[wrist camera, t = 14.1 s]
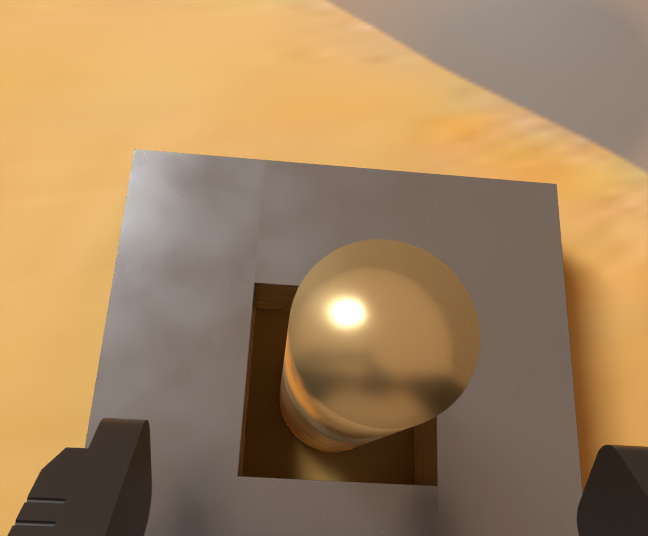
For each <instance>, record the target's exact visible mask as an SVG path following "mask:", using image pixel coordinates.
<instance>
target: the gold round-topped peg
mask: <svg viewBox="0 0 648 536" xmlns="http://www.w3.org/2000/svg"><path fill="white" fill-rule="evenodd" d="M479 350H480V328H479V321H478V317H477V312H476V309H475V307H474V304H473V301H472V299H471V297H470V295H469V293H468V291H467V289H466V288H465V286H464V285H463V283H462V282H461V280H460V279H459V278H458V277H457V275H456V274H455V273H454V272H453V271H452V270H451V269H450V268H449V267H448V266H447V265H446V264H445V263H444V262H442V261H441V260H440V259H438V258H437V257H435V256H434V255H433V254H431V253H429V252H427V251H425V250H423V249H421V248H419V247H416V246H414V245H411V244H408V243H404V242H401V241H395V240H388V239H372V240H363V241H359V242H355V243H351V244H348V245H346V246H343V247H341V248H339V249H337V250H335V251H333V252H331V253H330V254H328V255H327V256H325V257H324V258H323V259H321V260H320V261H319V262H318V263H317V264H316V265H315V266H314V267H313V268H312V269H311V270H310V271H309V273H308V274H307V275H306V276H305V278H304V279H303V281H302V283H301V284H300V286H299V288H298V290H297V292H296V294H295V297H294V299H293V303H292V307H291V310H290V317H289V324H288V332H287V340H286V348H285V356H284V363H283V371H282V379H281V387H280V408H281V412H282V416H283V418H284V420H285V423H286V424H287V426H288V428H289V429H290V431H291V432H292V433H293V434H294V435H295V436H296V437H297V438H298V439H299V440H300V441H301V442H303V443H304V444H306V445H308V446H309V447H311V448H314V449H316V450H320V451H324V452H342V451H347V450H350V449H353V448H356V447H359V446H361V445H364V444H367V443H369V442H372V441H375V440H378V439H380V438H383V437H386V436H389V435H391V434H394V433H397V432H400V431H402V430H405V429H408V428H411V427H413V426H416V425H419V424H422V423H424V422H426V421H428V420H430V419H433V418H435V417H436V416H438V415H439V414H441V413H442V412H444V411H445V410H446V409H448V408H449V407H450V406H451V405H452V404H453V403H454V402H455V401H456V400H457V399H458V398H459V397H460V396H461V394H462V393H463V392H464V390H465V389H466V387H467V385H468V384H469V382H470V380H471V378H472V376H473V374H474V371H475V368H476V365H477V361H478V356H479Z"/></svg>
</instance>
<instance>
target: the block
mask: <svg viewBox="0 0 648 536" xmlns="http://www.w3.org/2000/svg"><path fill="white" fill-rule="evenodd" d="M372 239H388V240H395V241H401V242H404V243H408V244H411V245H414V246H416V247H419V248H421V249H423V250H425V251H427V252H429V253H431V254H433V255H434V256H435V257H437V258H438V259H440V260H441V261H442V262H444V263H445V264H446V265H447V266H448V267H449V268H450V269H451V270H452V271H453V272H454V273H455V274H456V275H457V277H458V278H459V279H460V280H461V282H462V283H463V285H464V286H465V288H466V289H467V291H468V293H469V295H470V297H471V299H472V301H473V304H474V307H475V309H476V312H477V317H478V321H479V328H480V350H479V356H478V361H477V365H476V368H475V371H474V374H473V376H472V378H471V380H470V382H469V384H468V385H467V387H466V389H465V390H464V392H463V393H462V394H461V396H460V397H459V398H458V399H457V400H456V401H455V402H454V403H453V404H452V405H451V406H450V407H449V408H448V409H446V410H445V411H444V412H442V413H441V414H439V415H438V416H436V417H435V418H433V419H430V420H428V421H426V422H424V423H422V424H419V425H416V426H414V485H402V484H382V483H362V482H342V481H321V480H301V479H281V478H261V477H242V469H243V457H244V445H245V433H246V422H247V410H248V398H249V387H250V375H251V363H252V351H253V340H254V328H255V316H256V308H260V309H275V310H291V307H292V303H293V299H294V297H295V294H296V292H297V290H298V288H299V286H300V284H301V283H302V281H303V279H304V278H305V276H306V275H307V274H308V273H309V271H310V270H311V269H312V268H313V267H314V266H315V265H316V264H317V263H318V262H319V261H320V260H321V259H323V258H324V257H325V256H327V255H328V254H330V253H331V252H333V251H335V250H337V249H339V248H341V247H343V246H346V245H348V244H351V243H355V242H359V241H363V240H372ZM103 418H122V419H141V420H148V421H149V425H150V444H151V470H152V497H151V506H150V513H149V518H148V523H147V527H146V530H145V534H144V536H579V533H578V528H577V509H578V505H579V502H580V499H581V497H582V494H583V493H582V481H581V469H580V457H579V445H578V433H577V422H576V410H575V398H574V386H573V374H572V362H571V351H570V339H569V327H568V315H567V303H566V291H565V279H564V268H563V256H562V244H561V232H560V220H559V208H558V197H557V185H556V184H549V183H537V182H524V181H512V180H500V179H488V178H476V177H464V176H452V175H440V174H427V173H415V172H403V171H391V170H379V169H367V168H355V167H343V166H330V165H318V164H306V163H294V162H282V161H270V160H258V159H246V158H233V157H221V156H209V155H197V154H185V153H173V152H161V151H149V150H136V149H134V155H133V161H132V167H131V173H130V179H129V185H128V191H127V197H126V203H125V209H124V215H123V221H122V227H121V233H120V239H119V245H118V251H117V257H116V263H115V270H114V276H113V282H112V288H111V294H110V300H109V306H108V312H107V318H106V324H105V330H104V336H103V342H102V348H101V354H100V360H99V366H98V372H97V378H96V384H95V390H94V396H93V402H92V408H91V414H90V420H89V426H88V432H87V438H86V444H85V448H87V449H88V448H89V446H90V443H91V441H92V439H93V436H94V434H95V432H96V430H97V427H98V425H99V423H100V421H101V420H102V419H103Z"/></svg>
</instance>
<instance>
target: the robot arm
mask: <svg viewBox="0 0 648 536" xmlns="http://www.w3.org/2000/svg"><path fill="white" fill-rule="evenodd" d="M151 497H152V470H151V444H150V425H149V421H148V420H141V419H122V418H103V419H102V420H101V421H100V423H99V425H98V427H97V430H96V432H95V434H94V436H93V439H92V441H91V443H90V446H89V448H88V449H87V448H65V449H64V450H63V451H62V452H61V453H60V454H58V455H57V456H56V457H55V458H54V459H53V460H52V461H51V462H50V463H48V464H47V465H46V466H45V467H44V468H43V469H42V470H41V472H40V474H39V476H38V477H37V479H36V481H35V483H34V485H33V487H32V489H31V491H30V493H29V495H28V497H27V502H26V503H24V505H23V507H22V509H21V511H20V513H19V514H18V516H17V518H16V523H15V526H12V528H11V530H10V532H9V534H8V536H144V534H145V530H146V527H147V523H148V518H149V513H150V506H151ZM577 528H578V533H579V536H648V447H642V446H622V445H605V446H603V447H602V448H601V449H600V450H599V452H598V454H597V457H596V459H595V462H594V465H593V467H592V470H591V473H590V475H589V478H588V481H587V483H586V486H585V489H584V491H583V494H582V497H581V499H580V502H579V505H578V509H577Z"/></svg>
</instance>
